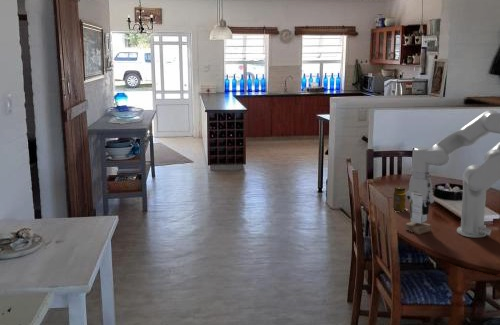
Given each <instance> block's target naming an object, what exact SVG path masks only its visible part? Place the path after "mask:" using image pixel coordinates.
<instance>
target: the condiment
mask: <svg viewBox="0 0 500 325" xmlns="http://www.w3.org/2000/svg"><path fill="white" fill-rule="evenodd" d="M405 192H406V188H405V187H404V186H395V187H394V192H393V198H392V199H393V203H392V208H394V210H395V212H394V213H396V211H402V212H405V211H404V210H405V209H406V211H410V208H409V209H408V208H406V197H407V196H406V194H405Z"/></svg>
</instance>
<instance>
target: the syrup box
mask: <svg viewBox="0 0 500 325" xmlns="http://www.w3.org/2000/svg"><path fill="white" fill-rule="evenodd" d="M426 203H427V202H426ZM423 206H424V204H423V199H422V195H421V194H420V193H417V192H411V211H410V216H409V221H410V222H415V223H420V224H422V223H427V221H428V214H426V215H423Z"/></svg>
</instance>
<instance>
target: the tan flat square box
mask: <svg viewBox="0 0 500 325" xmlns="http://www.w3.org/2000/svg"><path fill="white" fill-rule="evenodd" d="M404 227H405V229H406V230H405V229H404V230H405V231H407V230H409V231H408V232H410V231H412V232H411V233H413V232H414V233H413V234H416V235H420V236H421V235H422V234H425V233H429V232H431V227H432V224H430V223H427V222H424V223H422V224H420V223H415V222H411V221H410V222H406V223H405V226H404Z"/></svg>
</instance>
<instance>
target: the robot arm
mask: <svg viewBox="0 0 500 325" xmlns="http://www.w3.org/2000/svg"><path fill="white" fill-rule="evenodd" d="M490 133H492V134H500V112H498V111H496V110H494V109H488V110H486V111H484V112H482V113H481V114H479V115H478V116H476V117H475V118H474V119H473V120H471V121H470V122H468V123H466V124H465V125H463V127H461V128H459V129H458V130H456V131H453V133H451V134H449V135H447V136H446V137H444V138H442V139H441V140H439V141H438V142H436V143H435V144H434V145H432V147H431V148H428V147H421V146H420V147H415V148H413V149H412V157H411V159H412V162H411V176H410V177H409V178H410V179H409V182H408V190H405V194H406V197H407V200H408V202H409V211H410V212H411V192H417V193H420V194H421V195H422V199H423V204H424V206H423V215H426V214H427V215H428V214H429V212H430V211H429V210H430V206H431V205H432V204H433V203H434V202H435V200H436V199H435V198H434V196H433V184H432V179H431V177H432V175H431V174H430V166H437V167H441V166H445V165H446V164H448V163H449V160H450V156H449V155H450V154H452V153H453V152H454V151H456V150H458V149H460V148H463V147H469V146H473V145H474V144H475V143H477V142H478V141H480V140H482V139H483V138H484V137H485V136H487V135H488V134H490ZM482 160H483V163H482V164H481V165H479V164H470V165H469V166H467V167H466V168H465V169H464V171H463V173H462V200H461V218H460V219H461V220H460V226H458V227H457V228H456V233H457V234H458V235H461V236H463V237H467V238H473V239H474V238H475V239H478V238H484V237H487V236H491V232H492V230H491V229H489V228H487V225H486V224H485V212H486V211H485V210H486V201H487V199H486V198H487V190H489V189H490V188H491V187H492V186H495V185H496V184H497V183H498V182H499V181H500V141H499V142H497V143H496V144H495V145H494V146H493V147H491V149H488V151H487V152H486V153H485V154H484V155H483V159H482ZM426 202H427V203H426Z"/></svg>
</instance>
